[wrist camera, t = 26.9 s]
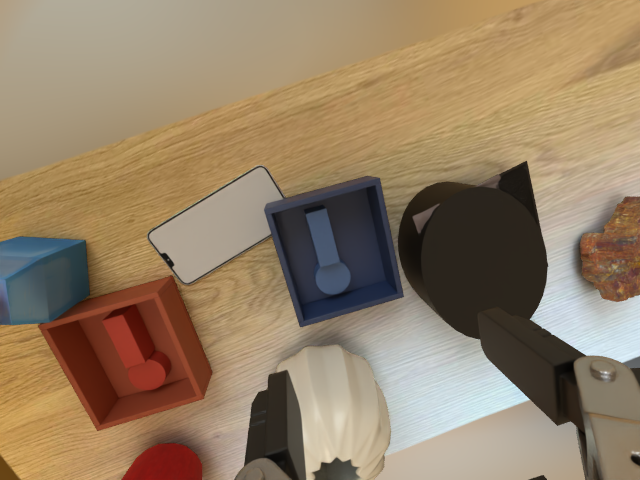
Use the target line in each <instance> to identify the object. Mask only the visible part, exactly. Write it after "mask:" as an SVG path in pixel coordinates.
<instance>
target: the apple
mask: <svg viewBox="0 0 640 480" xmlns="http://www.w3.org/2000/svg"><path fill="white" fill-rule="evenodd" d="M202 476H203V473H202V463H201V461H200V460H199V458H198V456H197V455H196V454H195V453H194V452H193V451H192V450H190V449H189V448H188V447H186V446H184V445H181V444H176V443H164V444H158V445H155V446H153V447H151V448H149V449H147V450H145V451H144V452H143V453H142V454H141V455H139V456H138V457H137V458H136V459H135V461H134V462H133V464H132V465H131V467H130V468H129V469H128V471H127V472H126V474H125V475H124V477H123V478H122V480H202Z"/></svg>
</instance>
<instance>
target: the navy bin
mask: <svg viewBox="0 0 640 480" xmlns="http://www.w3.org/2000/svg"><path fill="white" fill-rule="evenodd" d="M320 205H324V207H325V208H326V209H327V213H328V217H329V221H330V225H331V229H332V232H333V236H334V240H335V244H336V248H337V252H338V256H339V258H340V259H341V260H342V261H344V263H345V264H346V266H347V267H348V269H349V271H350V275H351V279H350V283H349V285H348V286H347V288H346V289H345V290H344V291H342V292H341V293H338V294H333V295H331V294H326V293H324V292H322V291H321V290H320V289H319V288H318V287H317V285H316V281H315V278H314V269H315V267H316V265H317V263H318V260H317V256H316V253H315V249H314V245H313V242H312V238H311V234H310V231H309V227H308V224H307V220H306V216H305V213H304V210H305V209H309V208H312V207H316V206H320ZM264 212H265V215H266V218H267V222H268V225H269V228H270V231H271V235H272V238H273V241H274V244H275V247H276V251H277V254H278V257H279V260H280V264H281V267H282V270H283V273H284V277H285V280H286V283H287V286H288V289H289V293H290V296H291V299H292V302H293V306H294V309H295V312H296V315H297V319H298V322H299V325H300V327H304V326H307V325H310V324H314V323H317V322H321V321H324V320H327V319H331V318H334V317H338V316H341V315H344V314H348V313H351V312H354V311H358V310H361V309H365V308H368V307H371V306H375V305H378V304H382V303H385V302H388V301H392V300H395V299H398V298H402V297H404V295H403V291H402V286H401V281H400V276H399V271H398V266H397V261H396V256H395V251H394V246H393V241H392V236H391V231H390V226H389V221H388V216H387V212H386V207H385V202H384V197H383V192H382V187H381V182H380V178H377V177H371V176H365V177H361V178H358V179H354V180H350V181H347V182H343V183H339V184H336V185H332V186H328V187H325V188H321V189H317V190H314V191H310V192H307V193H303V194H299V195H296V196H292V197H288V198H285V199H281V200H278V201H274V202H270V203H267V204H266V205H265V208H264Z"/></svg>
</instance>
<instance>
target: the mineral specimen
mask: <svg viewBox="0 0 640 480" xmlns="http://www.w3.org/2000/svg"><path fill="white" fill-rule="evenodd" d="M580 252H581V260H583V261H582V262H583V267H582V276H584V278H585V279H586V280H588V281H589V282H594V284H593V285H594V287H595V288H596V289H598V290H599V292H600V295H601V297H602V298H603V299H607V300H611V301H616V302H619V301H624V300H627V299H628V298H632V297H634V296H638V295H640V196H639V197H625V198H624V201H622V202H621V203H619V204H617V208H616V209H615V212H614V214H613V216H612V218H611V220H610V222H608V223H607V225H605V229H604V233H585V234H583V236H582V239H581V241H580Z"/></svg>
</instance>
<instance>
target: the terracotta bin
mask: <svg viewBox="0 0 640 480" xmlns="http://www.w3.org/2000/svg"><path fill="white" fill-rule="evenodd" d="M133 304H135V305H136V307H137V309H138V311H139V313H140V316H141V318H142V320H143V322H144V324H145V326H146V329H147V331H148V333H149V335H150V337H151V339H152V342H153V344H154V346H155V350H156V351H160V352H162V353H164V354H165V355H166V356H167V357H168V358H169V360H170V362H171V369H170V372H169V374H168V376H167V377H166V379H165V381H164V383H163V384H162V385H161V386H160V387H158V388H156V389H153V390H142V389H139V388H137V387H135V386H134V385H133V384H132V383H131V382H130V380H129V377H128V371H129V368H130V367H129V368H125V366H124V364H123V362H122V360H121V358H120V356H119V354H118V352H117V350H116V348H115V346H114V344H113V342H112V340H111V338H110V336H109V334H108V332H107V330H106V328H105V326H104V324H103V322H102V320H103V319H104V318H105V317H107V316H108V315H109V314H110V313H111V312H112V311H113V310H115V309H119V308H122V307H126V306H129V305H133ZM38 327H39V329H40V330H42V331H41V332H42V334H43V336H44V337H45V339H46V341H47V343H48V344H49V346H50V348H51V350H52V352H53V353H54V355H55V357H56V359H57V360H58V362H59V364H60V366H61V367H62V369H63V371H64V373H65V375H66V376H67V378H68V380H69V382H70V383H71V385H72V387H73V389H74V390H75V392H76V394H77V396H78V397H79V399H80V401H81V403H82V405H83V406H84V408H85V410H86V412H87V413H88V415H89V417H90V419H91V420H92V422H93V424H94V426H95V428H96V429H97V431H99V430H102V429H105V428H109V427H112V426H115V425H119V424H122V423H125V422H129V421H132V420H135V419H139V418H142V417H145V416H149V415H152V414H155V413H158V412H162V411H165V410H168V409H172V408H175V407H178V406H182V405H185V404H188V403H192V402H195V401H198V400H201V399H204V396H205V393H206V390H207V387H208V384H209V381H210V378H211V375H212V370H211V368H210V365H209V363H208V361H207V358H206V356H205V353H204V351H203V348H202V346H201V344H200V341H199V339H198V336H197V334H196V332H195V329H194V327H193V324H192V322H191V319H190V317H189V315H188V312H187V310H186V307H185V305H184V303H183V300H182V298H181V295H180V293H179V291H178V288H177V286H176V283H175V281H174V278H173V276H170V277H167V278H163V279H159V280H156V281H152V282H149V283H145V284H142V285H138V286H135V287H131V288H127V289H124V290H120V291H117V292H113V293H110V294H106V295H103V296H99V297H95V298H92V299H88V300H85V301H81V302H79V303H77V304H76V305H74V306H73V307H71V308H70V309H69V310H67V311H66V312H64V313H63V314H61V315H60V316H58V317H57V318H56V319H54V320H53V321H51V322H50V323H41V324H39V325H38Z"/></svg>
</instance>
